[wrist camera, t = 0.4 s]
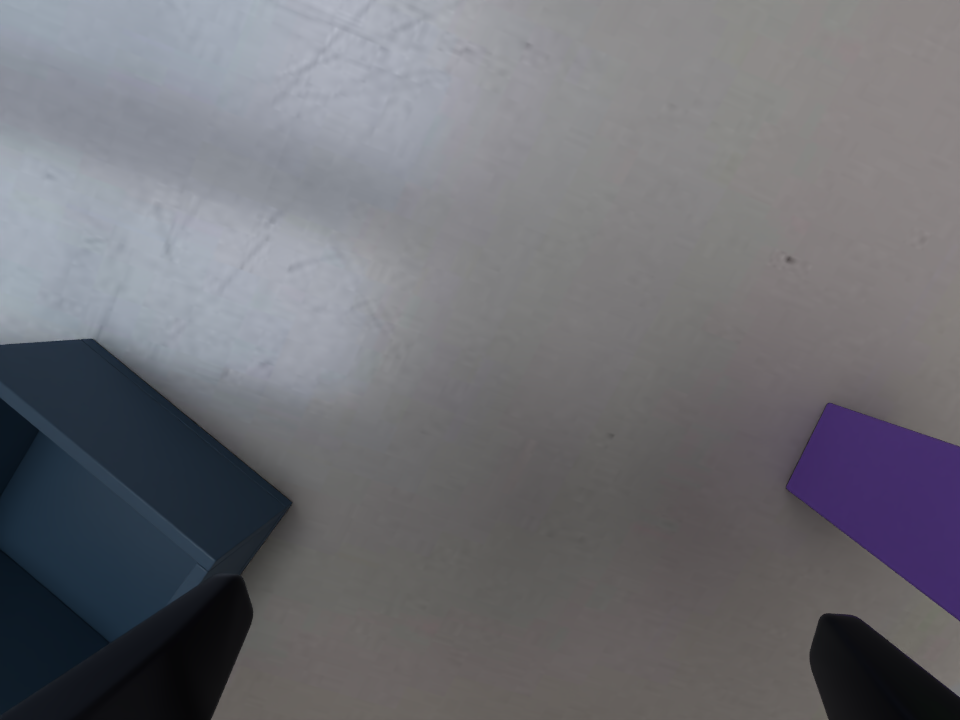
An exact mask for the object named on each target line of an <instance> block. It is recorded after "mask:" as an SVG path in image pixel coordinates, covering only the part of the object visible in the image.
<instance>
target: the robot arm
mask: <svg viewBox="0 0 960 720" xmlns="http://www.w3.org/2000/svg"><path fill="white" fill-rule="evenodd" d="M252 618H253V608H252V604H251V601H250V598H249V595H248V592H247V588H246V585H245V582H244V580H243V578H242V577H241V576H240V575H238V574H226V573H218V574H215V575H213V576H211V577H209V578H208V579H206V580H205V581H203V582H202V583H200V584H199V585H197V586H196V587H194V588H193V589H191V590H190V591H188V592H187V593H185V594H184V595H182V596H180V597H179V598H177V599H176V600H174V601H173V602H171V603H170V604H168V605H167V606H165V607H164V608H162V609H161V610H159V611H158V612H156V613H155V614H153V615H152V616H150V617H149V618H147V619H146V620H144V621H143V622H141V623H140V624H138V625H137V626H135V627H134V628H132V629H130V630H129V631H127V632H126V633H124V634H123V635H121V636H120V637H118V638H117V639H115V640H114V641H112V642H111V643H109V644H108V645H106V646H105V647H103V648H102V649H100V650H99V651H97V652H96V653H94V654H93V655H91V656H90V657H88V658H87V659H85V660H83V661H82V662H80V663H79V664H77V665H76V666H74V667H73V668H71V669H70V670H68V671H67V672H65V673H64V674H62V675H61V676H59V677H58V678H56V679H55V680H53V681H52V682H50V683H49V684H47V685H46V686H44V687H43V688H41V689H40V690H38V691H37V692H35V693H33V694H32V695H30V696H29V697H27V698H26V699H24V700H23V701H21V702H20V703H18V704H17V705H15V706H14V707H12V708H11V709H9V710H8V711H6V712H5V713H3V714H2V715H0V720H211V718H212V716H213V714H214V711H215V709H216V707H217V705H218V702H219V700H220V697H221V695H222V693H223V690H224V688H225V685H226V683H227V681H228V678H229V676H230V673H231V671H232V669H233V666H234V664H235V661H236V659H237V657H238V654H239V652H240V650H241V647H242V645H243V642H244V640H245V638H246V635H247V633H248V630H249V628H250V625H251V622H252ZM810 665H811V670H812V673H813V676H814V679H815V681H816V684H817V687H818V690H819V693H820V696H821V699H822V702H823V704H824V707H825V710H826V713H827V716H828V719H829V720H960V697H959V696H957V695H956V694H955V693H954V692H952V691H951V690H950V689H948V688H947V687H946V686H945V685H943V684H942V683H941V682H940V681H938V680H937V679H936V678H935V677H933V676H932V675H931V674H930V673H928V672H927V671H926V670H924V669H923V668H922V667H921V666H919V665H918V664H917V663H916V662H914V661H913V660H912V659H911V658H909V657H908V656H907V655H906V654H904V653H903V652H902V651H900V650H899V649H898V648H897V647H895V646H894V645H893V644H892V643H890V642H889V641H888V640H887V639H885V638H884V637H883V636H881V635H880V634H879V633H878V632H876V631H875V630H874V629H873V628H871V627H870V626H869V625H868V624H866V623H865V622H864V621H862V620H861V619H859V618H858V617H856V616H853V615H846V614H831V613H826V614H823V615H822V616H821V617H820V619H819V621H818V625H817V628H816V631H815V635H814V638H813V642H812V645H811V649H810Z"/></svg>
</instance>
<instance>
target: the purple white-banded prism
mask: <svg viewBox="0 0 960 720" xmlns="http://www.w3.org/2000/svg"><path fill="white" fill-rule="evenodd" d="M786 489H787V490H788V491H790V492H791V493H792V494H794V495H795V496H796V497H798V498H799V499H800V500H802V501H803V502H804V503H806V504H807V505H808V506H809V507H811V508H812V509H813V510H815V511H816V512H817V513H819V514H820V515H821V516H823V517H824V518H825V519H826V520H828V521H829V522H830V523H832V524H833V525H834V526H836V527H837V528H838V529H840V530H841V531H842V532H844V533H845V534H846V535H847V536H849V537H850V538H851V539H853V540H854V541H855V542H857V543H858V544H859V545H861V546H862V547H863V548H864V549H866V550H867V551H868V552H870V553H871V554H872V555H874V556H875V557H876V558H878V559H879V560H880V561H882V562H883V563H884V564H885V565H887V566H888V567H889V568H891V569H892V570H893V571H895V572H896V573H897V574H899V575H900V576H901V577H902V578H904V579H905V580H906V581H908V582H909V583H910V584H912V585H913V586H914V587H916V588H917V589H918V590H920V591H921V592H922V593H923V594H925V595H926V596H927V597H929V598H930V599H931V600H933V601H934V602H935V603H937V604H938V605H939V606H940V607H942V608H943V609H944V610H946V611H947V612H948V613H950V614H951V615H952V616H954V617H955V618H956V619H958V620H959V621H960V447H959V446H956V445H953V444H950V443H947V442H945V441H942V440H939V439H936V438H933V437H930V436H927V435H924V434H921V433H918V432H915V431H912V430H909V429H906V428H903V427H900V426H897V425H894V424H891V423H888V422H885V421H882V420H879V419H876V418H873V417H871V416H868V415H865V414H862V413H859V412H856V411H853V410H850V409H847V408H844V407H841V406H838V405H835V404H832V403H828V404H827V406H826V408H825V410H824V412H823V414H822V416H821V418H820V420H819V422H818V424H817V426H816V428H815V430H814V432H813V434H812V436H811V438H810V440H809V442H808V444H807V446H806V448H805V450H804V452H803V454H802V456H801V458H800V460H799V462H798V464H797V466H796V468H795V470H794V472H793V474H792V476H791V478H790V480H789V482H788V484H787V486H786Z"/></svg>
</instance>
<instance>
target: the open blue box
mask: <svg viewBox="0 0 960 720" xmlns="http://www.w3.org/2000/svg"><path fill="white" fill-rule="evenodd" d="M291 504H292V502H291V501H290V500H288V499H287V498H286V497H285V496H283V495H282V494H281V493H280V492H279V491H277V490H276V489H275V488H274V487H272V486H271V485H270V484H269V483H268V482H266V481H265V480H264V479H263V478H261V477H260V476H259V475H258V474H257V473H255V472H254V471H253V470H252V469H250V468H249V467H248V466H247V465H245V464H244V463H243V462H242V461H241V460H239V459H238V458H237V457H236V456H234V455H233V454H232V453H231V452H230V451H228V450H227V449H226V448H225V447H223V446H222V445H221V444H220V443H219V442H217V441H216V440H215V439H214V438H212V437H211V436H210V435H209V434H208V433H206V432H205V431H204V430H203V429H201V428H200V427H199V426H198V425H197V424H195V423H194V422H193V421H192V420H190V419H189V418H188V417H187V416H186V415H184V414H183V413H182V412H181V411H179V410H178V409H177V408H176V407H175V406H173V405H172V404H171V403H170V402H168V401H167V400H166V399H165V398H164V397H162V396H161V395H160V394H159V393H157V392H156V391H155V390H154V389H153V388H151V387H150V386H149V385H148V384H146V383H145V382H144V381H143V380H142V379H140V378H139V377H138V376H137V375H135V374H134V373H133V372H132V371H131V370H129V369H128V368H127V367H126V366H124V365H123V364H122V363H121V362H119V361H118V360H117V359H116V358H115V357H113V356H112V355H111V354H110V353H108V352H107V351H106V350H105V349H104V348H102V347H101V346H100V345H99V344H97V343H96V342H95V341H94V340H93V339H81V340H64V341H50V342H35V343H20V344H5V345H0V715H2V714H3V713H5V712H6V711H8V710H9V709H11V708H12V707H14V706H15V705H17V704H18V703H20V702H21V701H23V700H24V699H26V698H27V697H29V696H30V695H32V694H33V693H35V692H37V691H38V690H40V689H41V688H43V687H44V686H46V685H47V684H49V683H50V682H52V681H53V680H55V679H56V678H58V677H59V676H61V675H62V674H64V673H65V672H67V671H68V670H70V669H71V668H73V667H74V666H76V665H77V664H79V663H80V662H82V661H83V660H85V659H87V658H88V657H90V656H91V655H93V654H94V653H96V652H97V651H99V650H100V649H102V648H103V647H105V646H106V645H108V644H109V643H111V642H112V641H114V640H115V639H117V638H118V637H120V636H121V635H123V634H124V633H126V632H127V631H129V630H130V629H132V628H134V627H135V626H137V625H138V624H140V623H141V622H143V621H144V620H146V619H147V618H149V617H150V616H152V615H153V614H155V613H156V612H158V611H159V610H161V609H162V608H164V607H165V606H167V605H168V604H170V603H171V602H173V601H174V600H176V599H177V598H179V597H180V596H182V595H184V594H185V593H187V592H188V591H190V590H191V589H193V588H194V587H196V586H197V585H199V584H200V583H202V582H203V581H205V580H206V579H208V578H209V577H211V576H213V575H215V574H218V573H226V574H238V575H240V574H241V573H242V571H243V570H244V569H245V567H246V566H247V565H248V563H249V562H250V561H251V559H252V558H253V556H254V555H255V554H256V552H257V551H258V550H259V548H260V547H261V545H262V544H263V543H264V541H265V540H266V539H267V537H268V536H269V535H270V533H271V532H272V530H273V529H274V528H275V526H276V525H277V524H278V522H279V521H280V520H281V518H282V517H283V515H284V514H285V513H286V511H287V510H288V509H289V507H290V506H291Z"/></svg>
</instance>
